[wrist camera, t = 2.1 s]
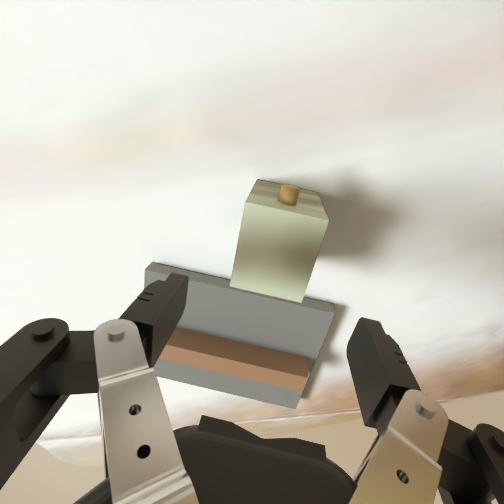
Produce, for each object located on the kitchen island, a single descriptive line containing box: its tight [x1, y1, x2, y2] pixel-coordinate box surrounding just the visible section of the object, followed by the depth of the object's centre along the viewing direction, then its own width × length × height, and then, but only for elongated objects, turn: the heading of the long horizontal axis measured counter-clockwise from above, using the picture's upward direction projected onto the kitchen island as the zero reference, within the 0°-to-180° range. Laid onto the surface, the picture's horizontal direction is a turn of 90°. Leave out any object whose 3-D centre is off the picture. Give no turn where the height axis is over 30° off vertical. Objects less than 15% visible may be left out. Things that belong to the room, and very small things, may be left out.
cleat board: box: [144, 262, 335, 409], centre depth 28 cm, size 14×18×4 cm
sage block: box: [230, 179, 329, 303], centre depth 20 cm, size 7×5×7 cm
